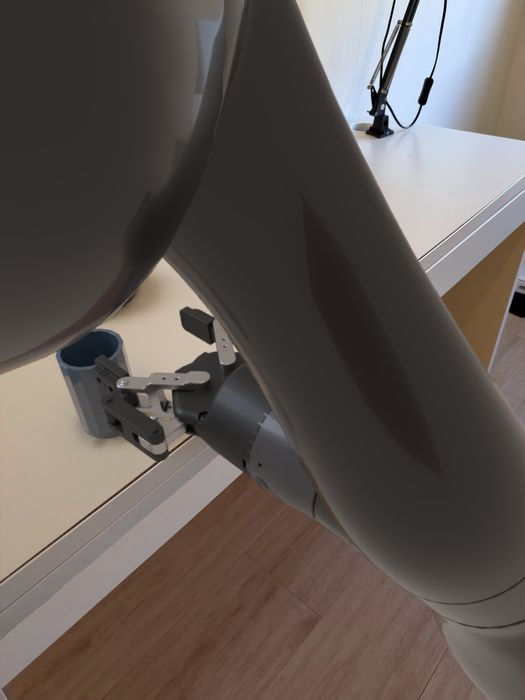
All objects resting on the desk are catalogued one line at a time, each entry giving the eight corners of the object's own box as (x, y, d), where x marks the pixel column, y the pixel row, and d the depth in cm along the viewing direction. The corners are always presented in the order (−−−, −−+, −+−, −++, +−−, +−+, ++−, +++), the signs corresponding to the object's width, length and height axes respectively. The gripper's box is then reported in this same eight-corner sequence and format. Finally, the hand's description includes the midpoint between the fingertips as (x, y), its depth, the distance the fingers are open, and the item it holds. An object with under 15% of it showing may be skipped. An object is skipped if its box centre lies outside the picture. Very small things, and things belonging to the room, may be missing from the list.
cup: (90, 447, 57) (64, 378, 50) (75, 409, 61) (49, 342, 55) (149, 422, 59) (131, 354, 53) (130, 388, 64) (111, 321, 57)
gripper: (358, 340, 36) (202, 266, 45) (205, 465, 28) (52, 346, 37) (352, 416, 41) (211, 335, 50) (219, 541, 33) (81, 419, 42)
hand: (143, 340), depth 44 cm, fingers open, 8 cm apart
